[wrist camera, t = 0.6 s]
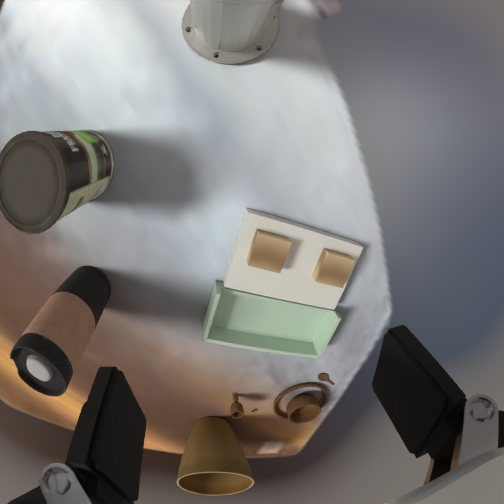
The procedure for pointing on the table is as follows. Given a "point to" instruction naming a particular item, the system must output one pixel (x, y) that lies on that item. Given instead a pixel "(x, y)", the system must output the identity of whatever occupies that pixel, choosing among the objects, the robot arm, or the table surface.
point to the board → (287, 261)
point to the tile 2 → (333, 268)
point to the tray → (267, 323)
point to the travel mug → (61, 332)
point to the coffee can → (51, 176)
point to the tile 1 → (268, 251)
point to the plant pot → (214, 460)
